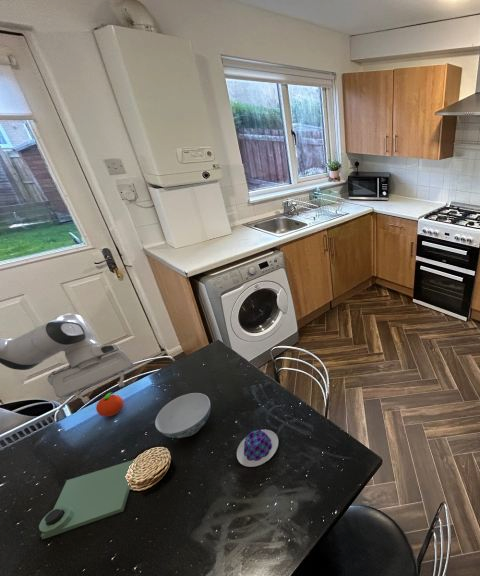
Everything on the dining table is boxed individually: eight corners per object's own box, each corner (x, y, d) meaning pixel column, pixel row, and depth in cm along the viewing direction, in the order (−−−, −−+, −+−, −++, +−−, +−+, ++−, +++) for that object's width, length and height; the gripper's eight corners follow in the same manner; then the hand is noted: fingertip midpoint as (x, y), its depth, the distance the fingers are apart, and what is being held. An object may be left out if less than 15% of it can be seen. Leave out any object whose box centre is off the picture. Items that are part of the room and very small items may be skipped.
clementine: (107, 405, 108) (98, 390, 105) (130, 399, 111) (122, 385, 107) (98, 423, 102) (87, 409, 98) (123, 417, 104) (114, 403, 101)
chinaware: (214, 439, 97) (207, 423, 93) (159, 456, 92) (149, 440, 88) (217, 403, 109) (211, 387, 105) (168, 416, 104) (160, 400, 101)
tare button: (45, 527, 74) (42, 523, 73) (51, 514, 76) (48, 511, 76) (60, 522, 75) (57, 518, 74) (65, 510, 77) (62, 506, 77)
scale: (40, 541, 74) (33, 535, 72) (67, 483, 85) (62, 477, 84) (123, 512, 79) (118, 506, 78) (137, 461, 91) (133, 455, 89)
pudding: (235, 440, 97) (231, 430, 94) (275, 425, 101) (272, 414, 99) (239, 475, 87) (234, 464, 85) (282, 456, 92) (279, 446, 90)
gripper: (41, 373, 96) (61, 412, 95) (121, 342, 109) (139, 376, 108) (48, 376, 101) (66, 413, 100) (124, 346, 114) (141, 379, 113)
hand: (105, 394), depth 104 cm, fingers open, 8 cm apart
